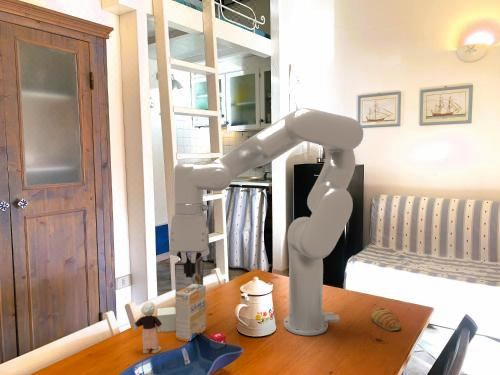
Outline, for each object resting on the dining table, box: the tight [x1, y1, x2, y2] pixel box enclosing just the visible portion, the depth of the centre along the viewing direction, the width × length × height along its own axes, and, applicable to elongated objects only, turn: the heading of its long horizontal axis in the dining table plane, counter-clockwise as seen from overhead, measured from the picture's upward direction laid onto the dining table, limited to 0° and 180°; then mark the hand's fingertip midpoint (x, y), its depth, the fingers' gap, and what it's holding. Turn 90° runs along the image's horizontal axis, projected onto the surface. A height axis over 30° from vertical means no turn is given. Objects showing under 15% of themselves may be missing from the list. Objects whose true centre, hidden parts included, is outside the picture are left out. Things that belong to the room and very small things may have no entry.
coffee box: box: [174, 255, 204, 293], centre depth 121 cm, size 9×6×16 cm
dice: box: [209, 331, 227, 344], centre depth 97 cm, size 3×3×3 cm
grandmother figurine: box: [133, 301, 165, 354], centre depth 95 cm, size 8×4×13 cm, turn 98°
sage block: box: [156, 306, 176, 334], centre depth 108 cm, size 5×5×5 cm
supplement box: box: [174, 284, 207, 343], centre depth 103 cm, size 8×5×13 cm, turn 155°
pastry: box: [371, 306, 402, 332], centre depth 109 cm, size 9×7×4 cm
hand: (189, 275), depth 102 cm, fingers closed
